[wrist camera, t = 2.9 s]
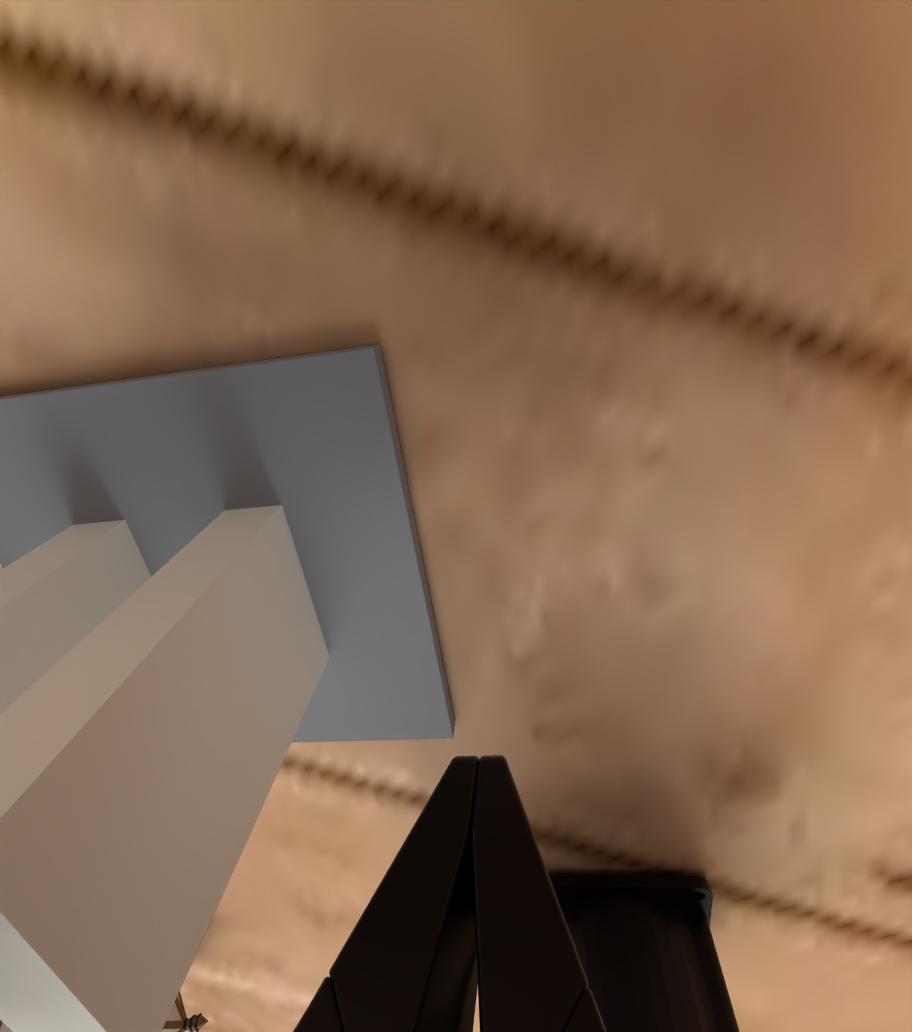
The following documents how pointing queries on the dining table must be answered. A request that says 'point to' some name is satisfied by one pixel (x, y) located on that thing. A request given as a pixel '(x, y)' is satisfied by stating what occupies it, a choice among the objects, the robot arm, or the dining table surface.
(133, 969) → the domino
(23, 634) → the domino
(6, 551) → the slate mat
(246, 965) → the dining table surface
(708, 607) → the dining table surface
